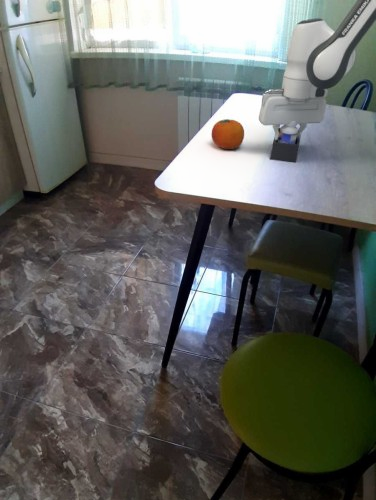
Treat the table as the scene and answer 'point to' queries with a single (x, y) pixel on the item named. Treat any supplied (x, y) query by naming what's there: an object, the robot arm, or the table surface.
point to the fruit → (228, 134)
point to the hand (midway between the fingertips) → (287, 138)
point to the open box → (284, 151)
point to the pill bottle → (288, 133)
